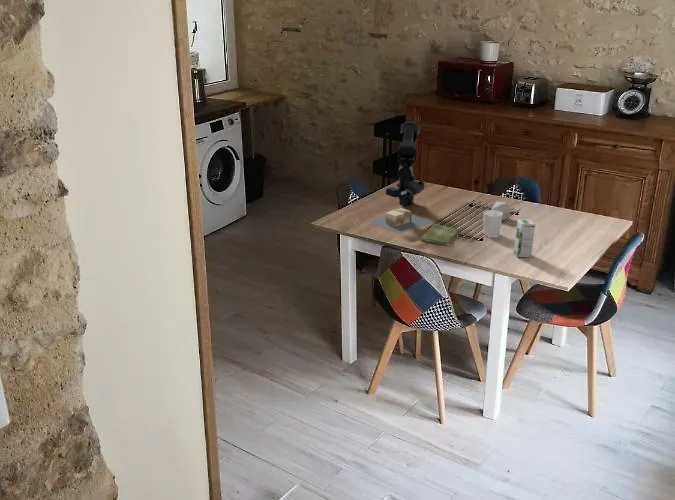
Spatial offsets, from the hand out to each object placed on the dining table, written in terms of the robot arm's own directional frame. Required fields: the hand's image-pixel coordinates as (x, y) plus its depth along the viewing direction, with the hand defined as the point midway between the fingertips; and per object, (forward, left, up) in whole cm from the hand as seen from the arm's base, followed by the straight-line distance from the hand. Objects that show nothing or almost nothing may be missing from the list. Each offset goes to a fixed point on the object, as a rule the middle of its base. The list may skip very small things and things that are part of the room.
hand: (404, 207), depth 313 cm
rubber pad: (+2, 0, -8) cm, 8 cm away
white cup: (-19, +34, -8) cm, 40 cm away
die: (-38, +24, -8) cm, 46 cm away
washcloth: (0, +22, -8) cm, 23 cm away
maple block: (-2, 0, -4) cm, 4 cm away
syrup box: (-11, +56, -8) cm, 58 cm away
